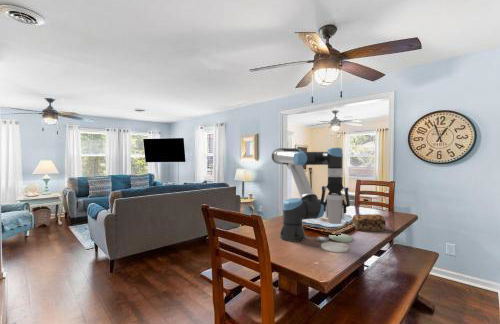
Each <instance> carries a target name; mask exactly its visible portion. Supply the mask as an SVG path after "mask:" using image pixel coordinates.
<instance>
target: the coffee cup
mask: <svg viewBox="0 0 500 324" xmlns="http://www.w3.org/2000/svg"><path fill="white" fill-rule="evenodd" d="M326 199H327V209H328V218H327V219H328V221H327V222H328V223H329V224H334V225H339V224H342V221H343V220H342V207H343V205H342V201H343V200H344V201H345V197H344V195H343V194H342V195H340V196H339V195H338V194H335V193H333V194H331V195H328V194H326V195H325V200H326Z"/></svg>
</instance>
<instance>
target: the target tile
mask: <svg viewBox="0 0 500 324" xmlns="http://www.w3.org/2000/svg"><path fill="white" fill-rule="evenodd" d="M314 240H315V242H316V241H318V242H322V243H325V242H330V240H331V239H330V238H329V237H325V236H320V235H318V236H317V237H315V239H314Z"/></svg>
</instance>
